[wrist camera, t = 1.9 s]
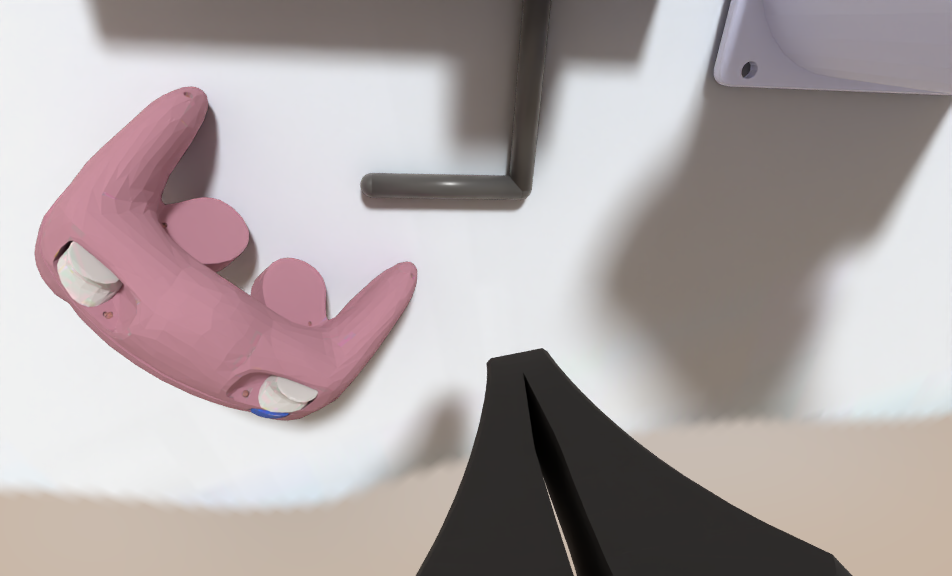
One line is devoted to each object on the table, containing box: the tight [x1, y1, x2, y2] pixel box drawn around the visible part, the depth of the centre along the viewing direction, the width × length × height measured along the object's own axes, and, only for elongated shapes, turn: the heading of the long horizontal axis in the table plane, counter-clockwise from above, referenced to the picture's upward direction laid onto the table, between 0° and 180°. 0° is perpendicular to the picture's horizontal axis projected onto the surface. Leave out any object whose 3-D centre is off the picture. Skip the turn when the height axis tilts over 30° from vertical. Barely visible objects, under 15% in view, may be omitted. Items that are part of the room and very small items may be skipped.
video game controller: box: [35, 87, 417, 420], centre depth 15 cm, size 10×5×7 cm, turn 44°
